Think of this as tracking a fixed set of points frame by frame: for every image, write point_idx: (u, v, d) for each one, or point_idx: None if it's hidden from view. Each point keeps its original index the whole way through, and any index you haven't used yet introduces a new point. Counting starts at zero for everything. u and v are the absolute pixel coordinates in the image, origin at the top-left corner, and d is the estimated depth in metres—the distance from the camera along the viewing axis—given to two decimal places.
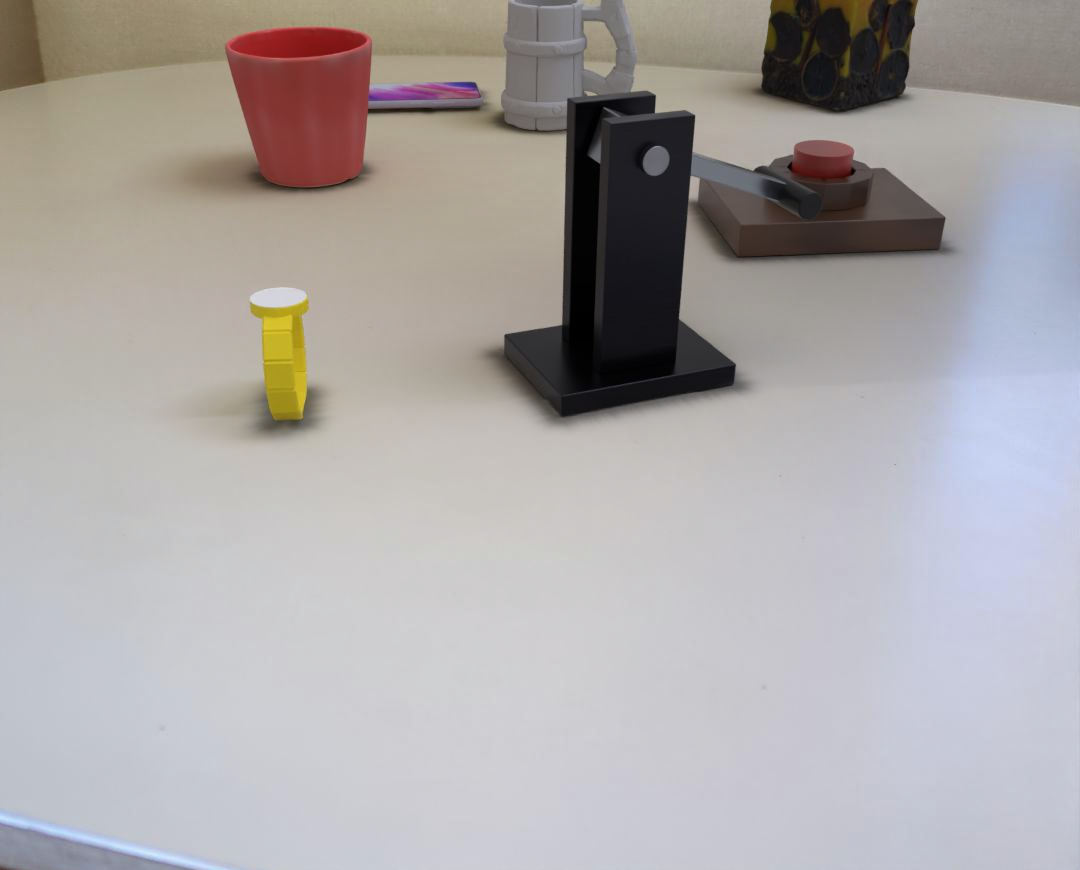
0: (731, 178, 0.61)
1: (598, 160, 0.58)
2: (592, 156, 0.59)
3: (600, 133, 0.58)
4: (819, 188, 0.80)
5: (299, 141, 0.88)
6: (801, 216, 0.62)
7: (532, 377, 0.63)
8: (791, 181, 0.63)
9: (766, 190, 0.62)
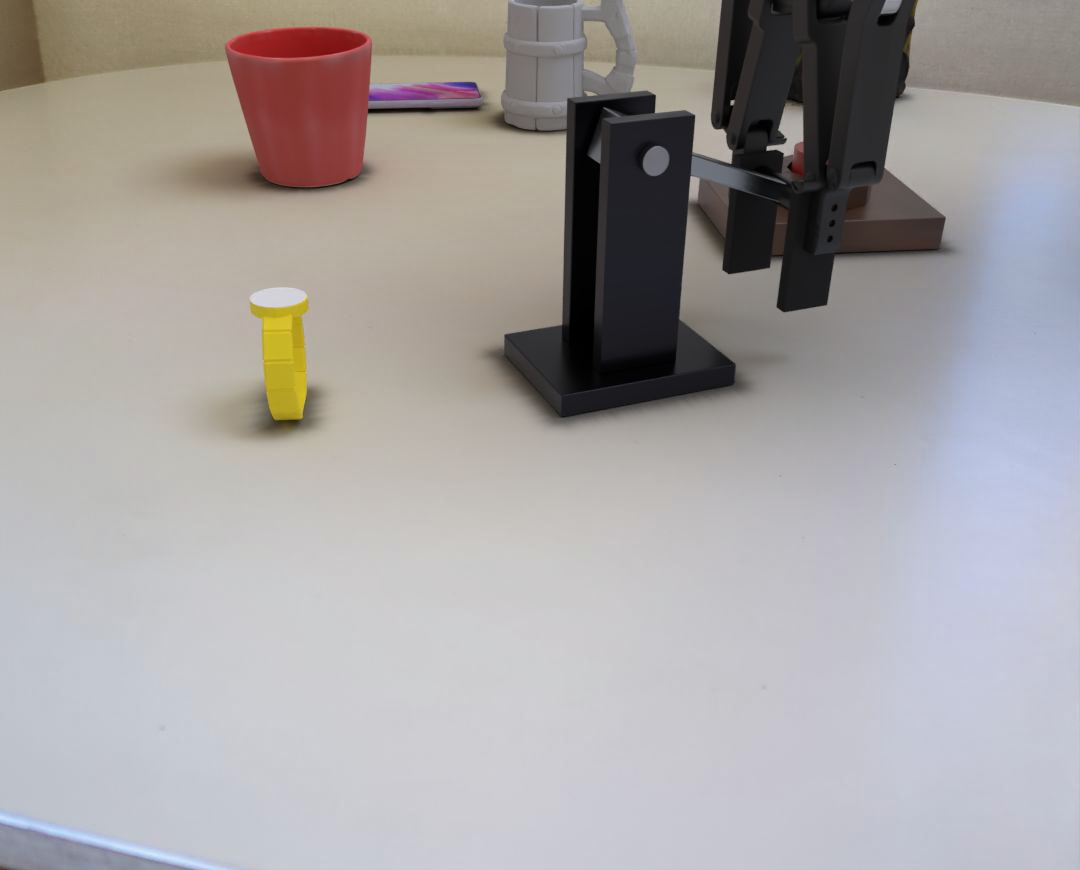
0: (731, 178, 0.61)
1: (598, 160, 0.58)
2: (592, 156, 0.59)
3: (600, 133, 0.58)
4: None
5: (299, 141, 0.88)
6: None
7: (532, 377, 0.63)
8: None
9: (766, 190, 0.62)
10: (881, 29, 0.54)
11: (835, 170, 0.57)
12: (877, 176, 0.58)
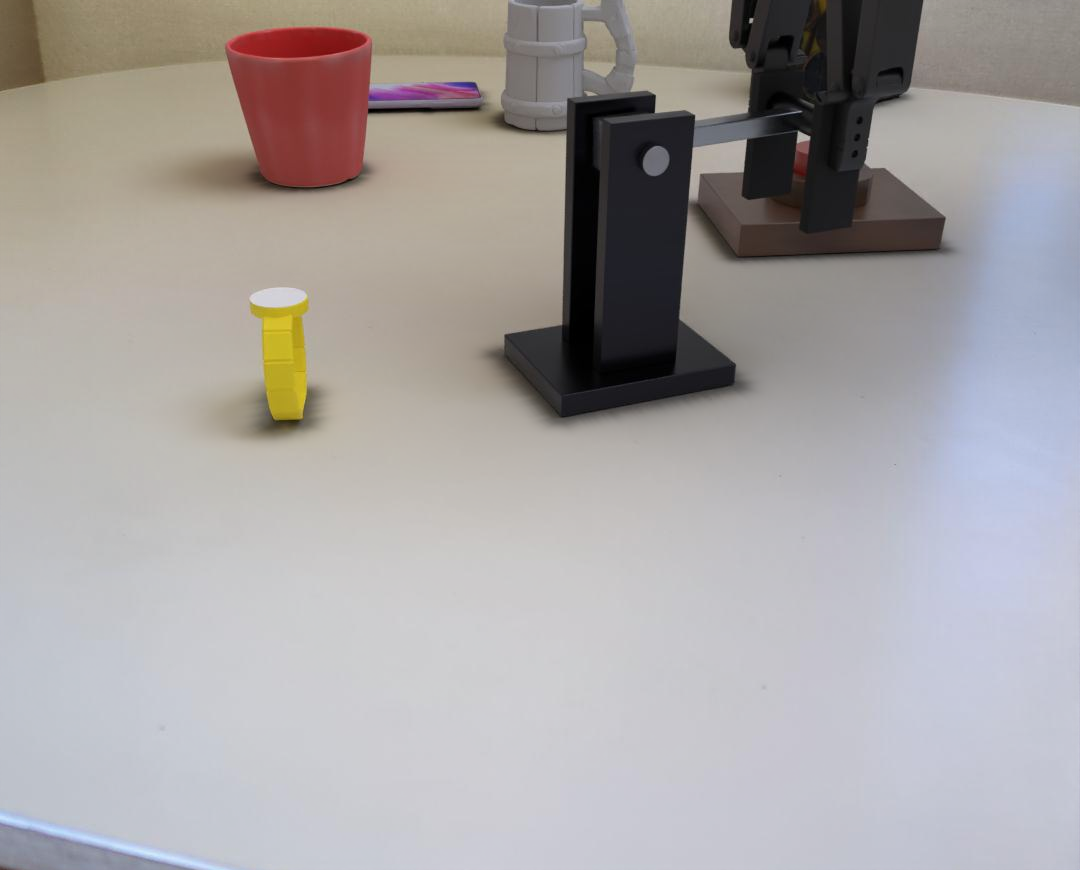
0: (742, 131, 0.60)
1: None
2: (598, 168, 0.59)
3: (598, 144, 0.58)
4: None
5: (299, 141, 0.88)
6: None
7: (532, 377, 0.63)
8: (806, 106, 0.61)
9: (783, 126, 0.61)
10: None
11: (861, 78, 0.55)
12: (904, 84, 0.56)
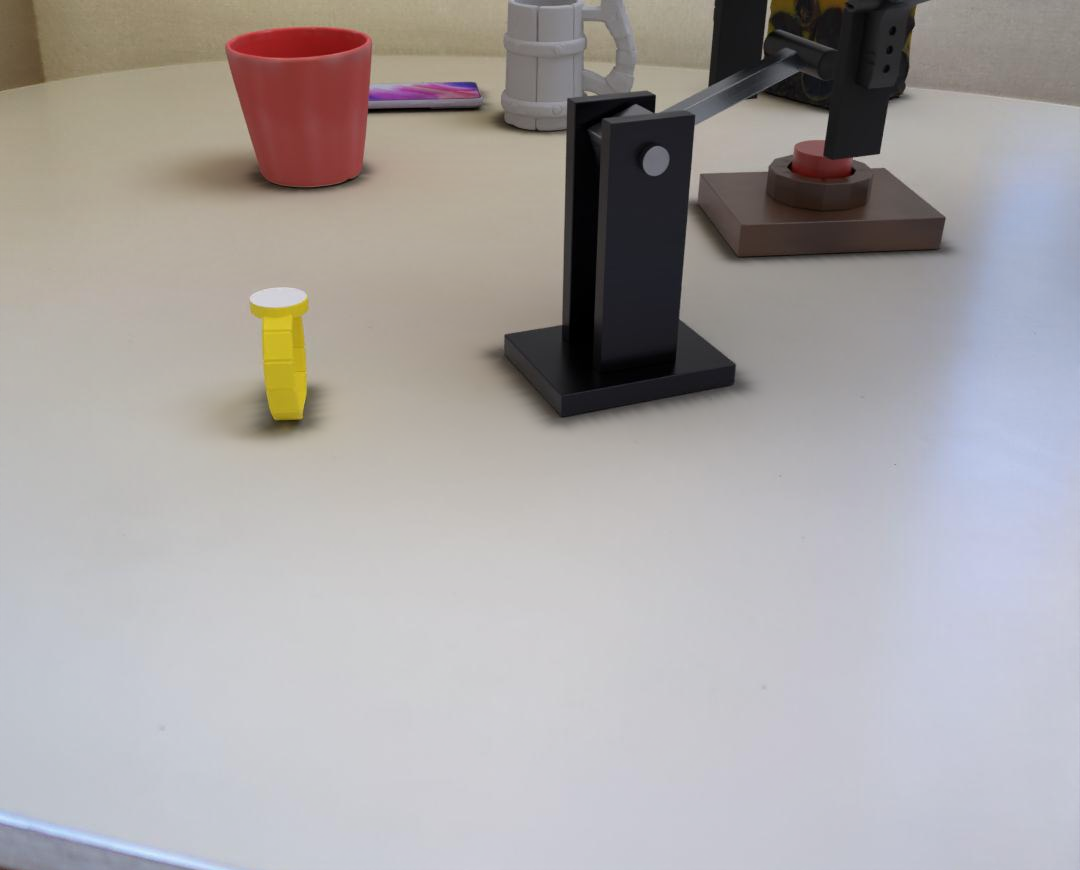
0: (740, 92, 0.59)
1: None
2: None
3: (599, 153, 0.59)
4: (819, 188, 0.80)
5: (299, 141, 0.88)
6: (826, 80, 0.58)
7: (532, 377, 0.63)
8: (800, 44, 0.59)
9: (781, 73, 0.59)
10: None
11: None
12: None
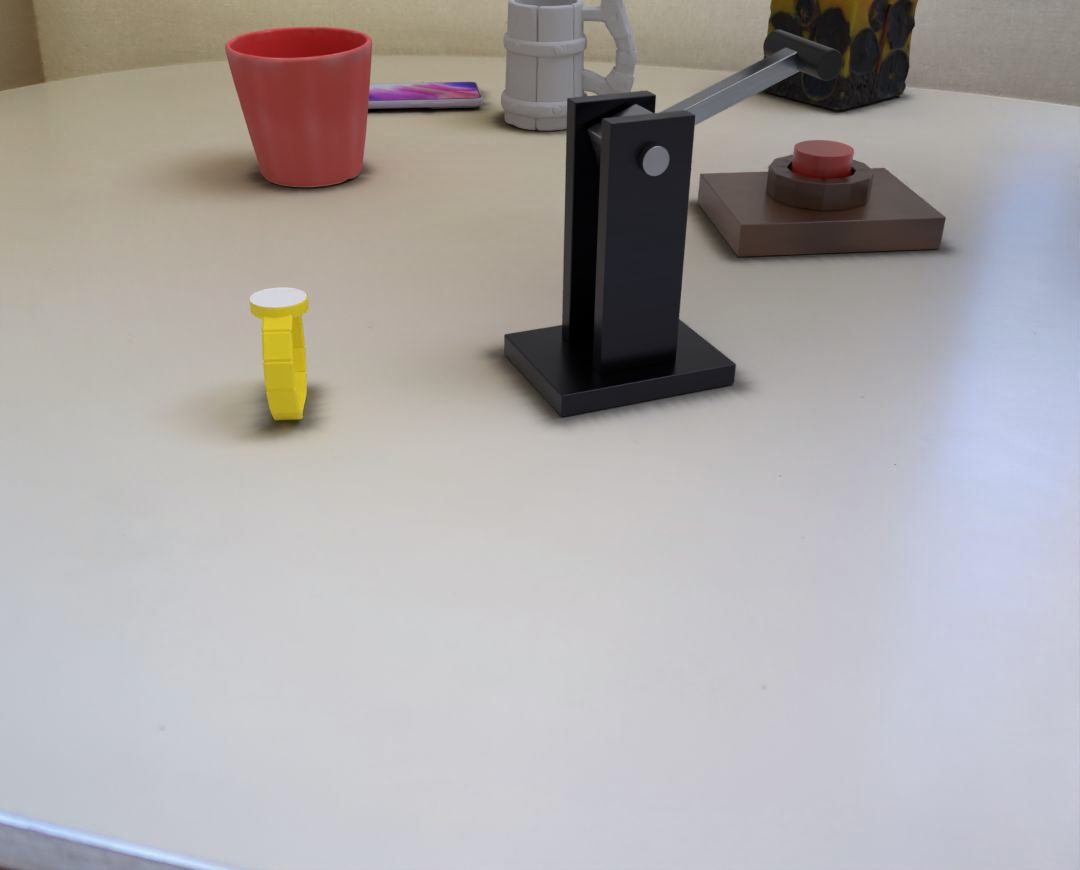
0: (740, 92, 0.59)
1: None
2: None
3: (599, 153, 0.59)
4: (819, 188, 0.80)
5: (299, 141, 0.88)
6: (826, 80, 0.58)
7: (532, 377, 0.63)
8: (800, 44, 0.59)
9: (781, 73, 0.59)
10: None
11: None
12: None
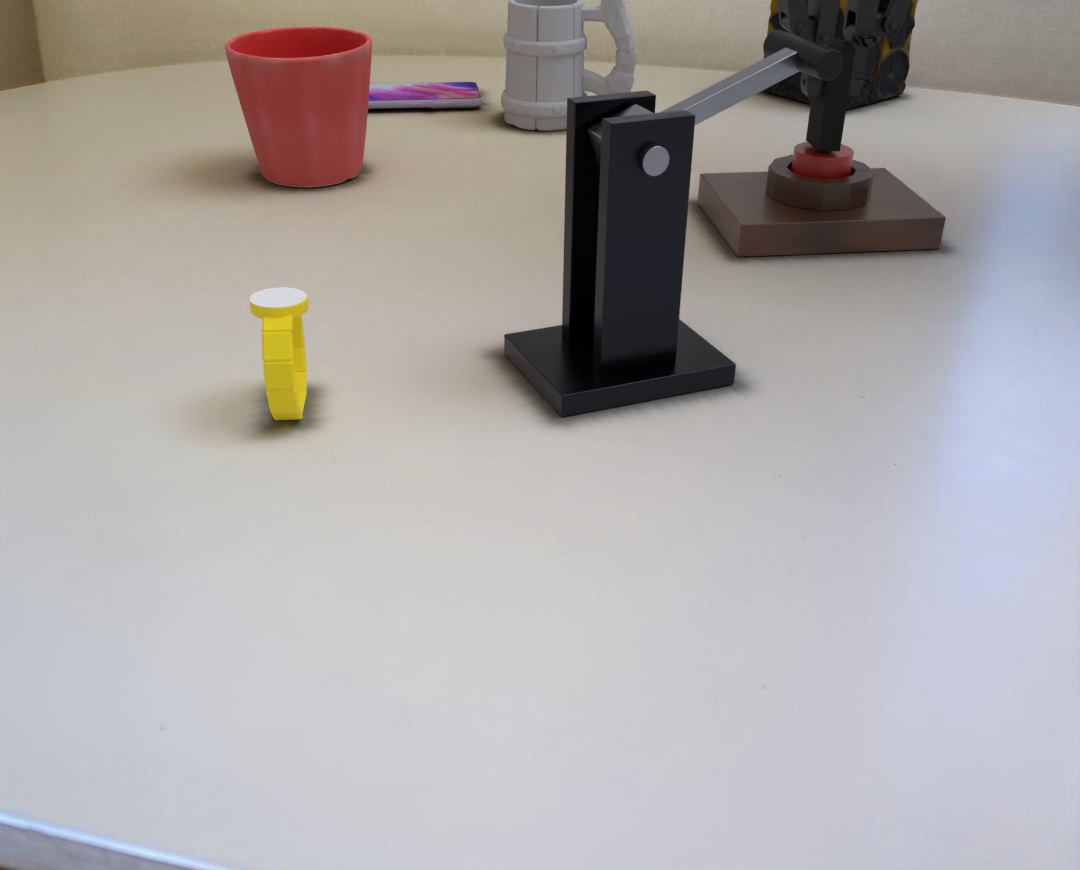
0: (740, 92, 0.59)
1: None
2: None
3: (599, 153, 0.59)
4: (819, 188, 0.80)
5: (299, 141, 0.88)
6: (826, 80, 0.58)
7: (532, 377, 0.63)
8: (800, 44, 0.59)
9: (781, 73, 0.59)
10: None
11: (896, 20, 0.77)
12: None
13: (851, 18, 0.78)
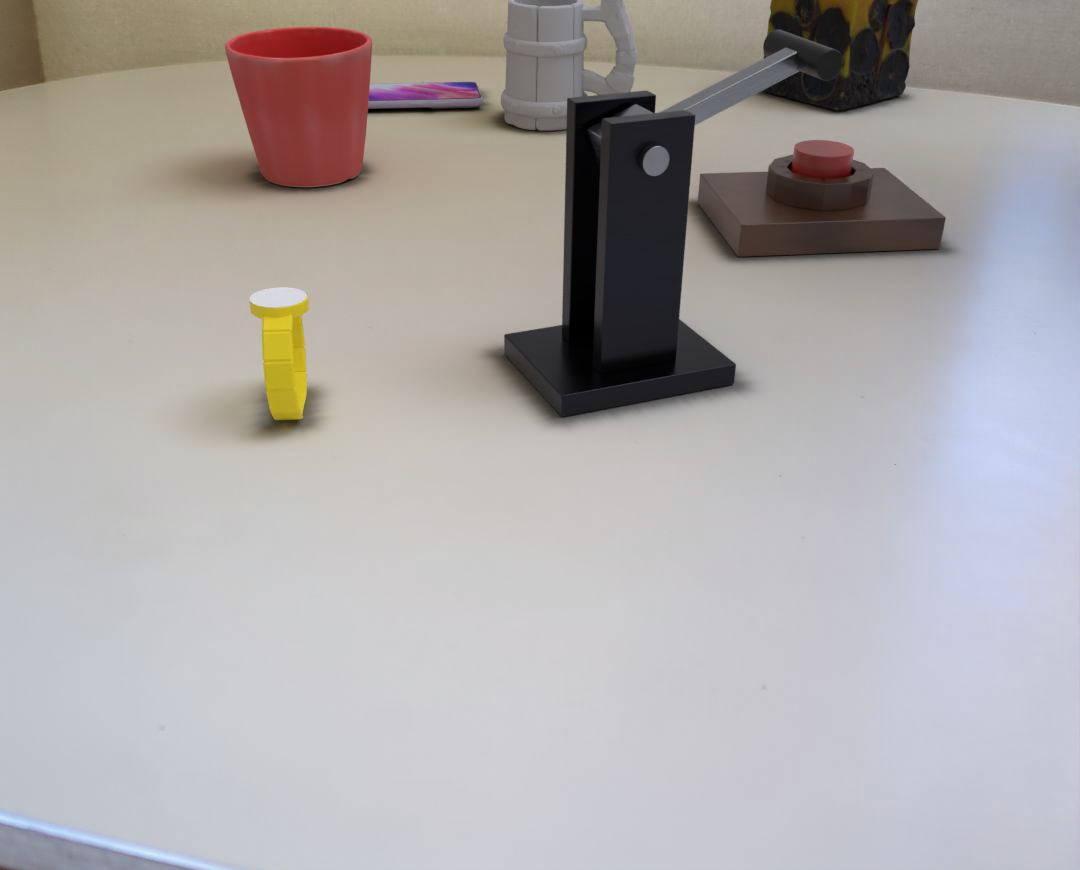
0: (740, 92, 0.59)
1: None
2: None
3: (599, 153, 0.59)
4: (819, 188, 0.80)
5: (299, 141, 0.88)
6: (826, 80, 0.58)
7: (532, 377, 0.63)
8: (800, 44, 0.59)
9: (781, 73, 0.59)
10: None
11: None
12: None
13: None
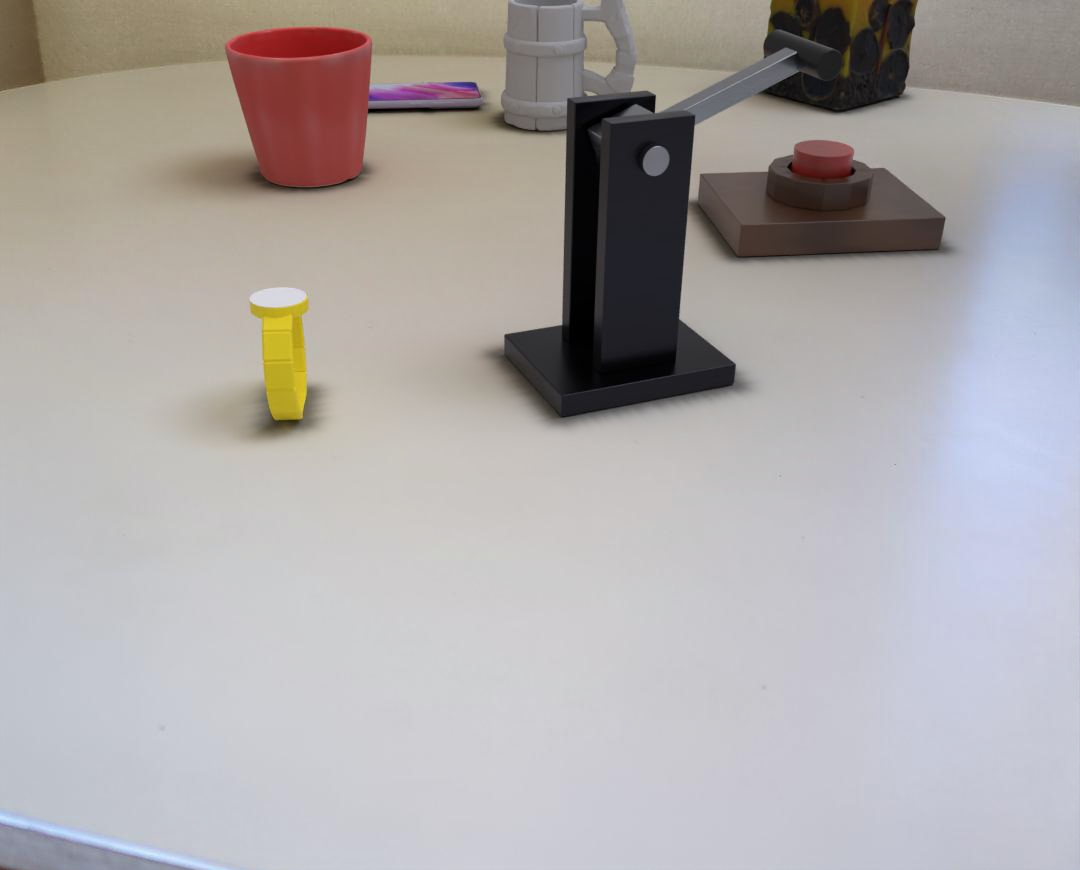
0: (740, 92, 0.59)
1: None
2: None
3: (599, 153, 0.59)
4: (819, 188, 0.80)
5: (299, 141, 0.88)
6: (826, 80, 0.58)
7: (532, 377, 0.63)
8: (800, 44, 0.59)
9: (781, 73, 0.59)
10: None
11: None
12: None
13: None
